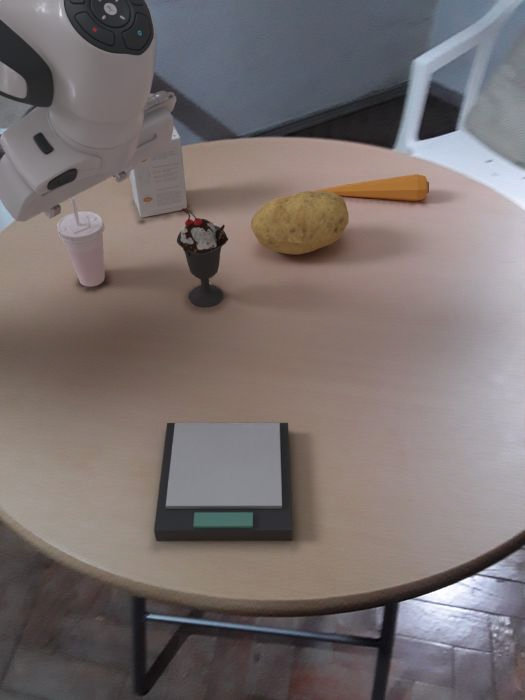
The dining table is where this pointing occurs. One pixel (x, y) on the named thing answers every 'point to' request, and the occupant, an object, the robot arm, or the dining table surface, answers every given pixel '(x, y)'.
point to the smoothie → (84, 244)
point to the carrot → (387, 188)
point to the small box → (160, 181)
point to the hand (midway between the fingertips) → (85, 193)
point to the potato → (301, 222)
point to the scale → (225, 483)
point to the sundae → (203, 257)
